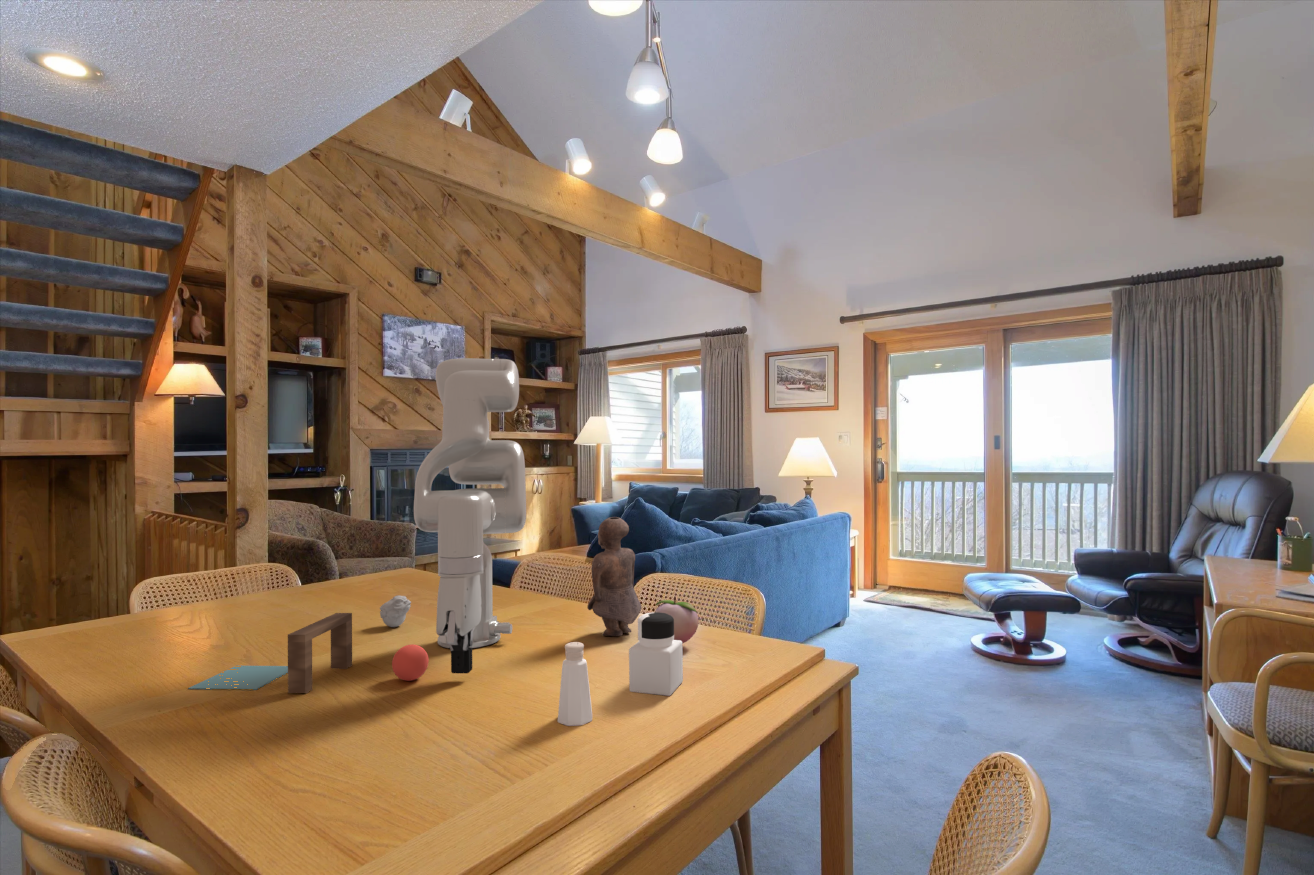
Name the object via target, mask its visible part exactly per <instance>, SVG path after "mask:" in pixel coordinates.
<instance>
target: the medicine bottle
mask: <svg viewBox="0 0 1314 875" xmlns="http://www.w3.org/2000/svg"><path fill="white" fill-rule="evenodd" d="M637 640H638V641H637V642H636V643H635V644H633V645H632V646H631V647H629V649H628V670H629V671H628V673H629V674H628V675H629V676H628V677H629V678H628V679H629V680H628V682H629V683H628V684H629V685H628V686H629V687H628V688H629V692H632V693H638V694H639V693H640V694H649V695H656V696H657V695H658V696H668V697H670V696H671V695H673V693H675V691H676V690H677V689H678V687H680V685H681V684H682V683H683V681H684V676H683V674H684V672H683V668H684V665H683V662H684V661H683V660H684V659H683V644H682V641H681V640H674V618H673V617H672V616H671V615H669V614H666V613H660V612H655V611H654V612H647V613H643V614H641V615H640V616H638V617H637Z"/></svg>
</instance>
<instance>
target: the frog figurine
mask: <svg viewBox="0 0 1314 875" xmlns="http://www.w3.org/2000/svg"><path fill="white" fill-rule="evenodd" d="M411 603H412V601H410V600H409V598H407V597H406V595H395V596H393V597H392V598H391V599H389V600H388V601H386V602H384V603H383V604H381V605H380V607H379V610H380V611H379V614H380V618H381V619H382V621H383V624H385V625H386V626H387V627H388V628H389V627H390V628H396V627H399V626H401V625H402V624H404V622H405V619H406V618H407V617H406V616H407V613H409V610H410V608H411V606H412V605H411Z"/></svg>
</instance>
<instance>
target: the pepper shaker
mask: <svg viewBox="0 0 1314 875" xmlns="http://www.w3.org/2000/svg"><path fill="white" fill-rule="evenodd" d="M584 647H585V645H584V643H582V642H579V641H573V642H572V641H571V642H568V643H566V644H565V645H564V649H565V652H564V653H565V659H564V660H562V666H561V674H560V675H561V677H560V678H561V679H560V690H559V701H558V710H557V713H558V714H557V723H558V724H561V725H564V726H567V727H573V726H574V727H575V726H578V727H579V726H583V725H585V724H588V723H590V722H592V721H593V710H592V699H591V690H590V681H589V671H588V662H587V660H586V659H585V658H584V654H585V653H584V652H585V651H584Z"/></svg>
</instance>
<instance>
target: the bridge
mask: <svg viewBox="0 0 1314 875" xmlns="http://www.w3.org/2000/svg"><path fill="white" fill-rule="evenodd" d="M329 631H330V669H331V668H332V670H333V669H335V670H336V669H338V668H339V669H341V670H342V669H343V670H345V669H346V670H347V669H348V667H349V668H350V667H352V666H353V613H352V612H335V613H334V614H331V615H329V616H326V617H325V618H322V619H320V620H317V621H314V622H313V623H311V624H308V625H306V626H303V627H302V628H299V629H297V630H295V631H293V632H291V633H288V634H287V666H288V673H287V694H288V693H306V694H308V693H309V691H310V690H311V691H313V639H315V638H317V637H319V636H321V635H323V634H325V633H327V632H329ZM311 691H310V692H311Z"/></svg>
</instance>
